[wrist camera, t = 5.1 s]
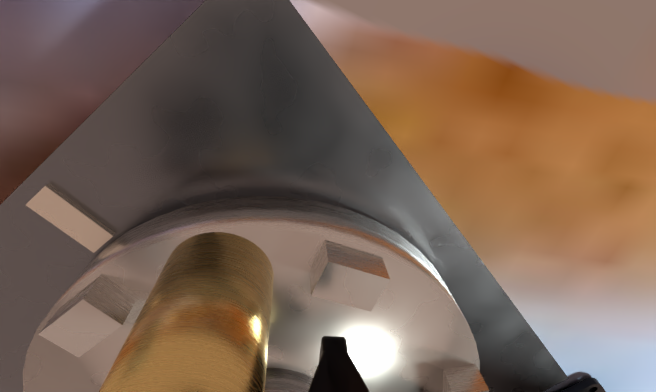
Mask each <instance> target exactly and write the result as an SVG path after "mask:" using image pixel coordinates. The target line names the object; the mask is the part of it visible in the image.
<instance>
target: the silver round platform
mask: <svg viewBox="0 0 656 392" xmlns="http://www.w3.org/2000/svg"><path fill="white" fill-rule="evenodd" d="M323 336H338V337H345V339H346V342H347V348H348V353H349V355H350V357H351V359H352V361H353V362H354V364H355V366H356V368H357V370H358V371H359V373H360V375H361V377H362V379H363V380H364V382H365V384H366V386H367V388H368V389H369V391H370V392H489V389H488V387H487V385H486V383H485V381H484V379H483V377H482V375H481V373H480V360H479V355H478V350H477V345H476V341H475V339H474V336H473V334H472V332H471V329H470V327H469V325H468V322H467V321H466V319H465V317H464V315H463V314H462V312H461V310H460V308H459V307H458V305H457V303H456V301H455V299H454V298H453V296H452V294H451V292H450V291H449V289H448V287H447V285H446V284H445V282H444V281H443V279H442V278H441V276H440V274H439V273H438V271H437V270H436V268H435V267H434V266H433V264H432V263H431V262H430V261H429V260H428V259H427V258H426V257H425V256H424V255H423V254H422V253H421V252H420V251H419V250H418V249H417V248H416V247H415V246H414V245H412V244H411V243H410V242H408V241H407V240H406V239H405V238H403V237H402V236H401V235H399V234H398V233H396V232H395V231H393V230H391V229H389V228H388V227H386V226H384V225H382V224H381V223H379V222H377V221H375V220H373V219H371V218H368V217H366V216H363V215H361V214H358V213H356V212H353V211H351V210H349V209H345V208H341V207H338V206H334V205H330V204H326V203H323V202H319V201H313V200H306V199H299V198H292V197H278V196H246V197H235V198H224V199H217V200H212V201H208V202H203V203H198V204H194V205H189V206H186V207H183V208H180V209H177V210H174V211H171V212H168V213H165V214H162V215H160V216H157V217H155V218H153V219H151V220H149V221H147V222H145V223H143V224H141V225H139V226H137V227H135V228H133V229H131V230H130V231H128V232H127V233H125V234H124V235H122V236H121V237H119V238H118V239H117V240H115V241H114V242H112V243H111V244H109V245H108V246H107V247H106V248H105V249H104V250H103V251H102V252H101V253H100V254H99V255H97V256H96V257H95V258H94V259H93V260H92V261H91V262H90V263H89V264H88V265H87V267H86V268H85V269H84V270H83V271H82V273H81V274H80V275H79V276H78V277H77V279H76V280H75V281H74V282H73V283H72V285H71V286H70V287H69V288H68V289H67V291H66V292H65V293H64V294H63V295H62V297H61V298H60V299H59V300H58V301H57V303H56V304H55V305H54V306H53V307H52V309H51V310H50V312H49V313H48V314H47V316H46V317H45V318H44V320H43V321H42V323H41V324H40V325H39V327H38V328H37V330H36V332H35V334H34V337H33V339H32V341H31V343H30V345H29V348H28V350H27V354H26V359H25V364H24V369H23V392H308V390H309V387H310V385H311V382H312V379H313V377H314V374H315V372H316V369H317V366H318V364H319V355H320V347H321V339H322V337H323Z"/></svg>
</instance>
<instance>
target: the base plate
mask: <svg viewBox="0 0 656 392" xmlns="http://www.w3.org/2000/svg"><path fill="white" fill-rule="evenodd" d="M246 196H278V197H292V198H299V199H306V200H313V201H319V202H323V203H326V204H330V205H334V206H338V207H341V208H345V209H349V210H351V211H353V212H356V213H358V214H361V215H363V216H366V217H368V218H371V219H373V220H375V221H377V222H379V223H381V224H382V225H384V226H386V227H388V228H389V229H391V230H393V231H395V232H396V233H398V234H399V235H401V236H402V237H403V238H405V239H406V240H407V241H408V242H410V243H411V244H412V245H414V246H415V247H416V248H417V249H418V250H419V251H420V252H421V253H422V254H423V255H424V256H425V257H426V258H427V259H428V260H429V261H430V262H431V263H432V264H433V266H434V267H435V268H436V270H437V271H438V273H439V274H440V276H441V278H442V279H443V281H444V282H445V284H446V285H447V287H448V289H449V291H450V292H451V294H452V296H453V298H454V299H455V301H456V303H457V305H458V307H459V308H460V310H461V312H462V314H463V315H464V317H465V319H466V321H467V322H468V325H469V327H470V329H471V332H472V334H473V336H474V339H475V341H476V345H477V350H478V355H479V360H480V373H481V375H482V377H483V379H484V381H485V383H486V385H487V387H488V389H489V392H543V391H545V390H547V389H549V388H551V387H553V386H555V385H557V384H559V383H561V382H563V381H565V380H567V379H568V377H567V376H566V374H565V373H564V372H563V370H562V369H561V368H560V366H559V365H558V364H557V362H556V361H555V360H554V358H553V357H552V355H551V354H550V353H549V351H548V350H547V349H546V347H545V346H544V345H543V343H542V342H541V341H540V339H539V338H538V337H537V335H536V334H535V332H534V331H533V330H532V328H531V327H530V326H529V324H528V323H527V322H526V320H525V319H524V318H523V316H522V315H521V313H520V312H519V311H518V309H517V308H516V307H515V305H514V304H513V303H512V301H511V300H510V299H509V297H508V296H507V295H506V293H505V292H504V290H503V289H502V288H501V286H500V285H499V284H498V282H497V281H496V280H495V278H494V277H493V276H492V274H491V273H490V272H489V270H488V269H487V267H486V266H485V265H484V263H483V262H482V261H481V259H480V258H479V257H478V255H477V254H476V253H475V251H474V250H473V249H472V247H471V246H470V244H469V243H468V242H467V240H466V239H465V238H464V236H463V235H462V234H461V232H460V231H459V230H458V228H457V227H456V225H455V224H454V223H453V221H452V220H451V219H450V217H449V216H448V215H447V213H446V212H445V211H444V209H443V208H442V207H441V205H440V204H439V202H438V201H437V200H436V198H435V197H434V196H433V194H432V193H431V192H430V190H429V189H428V188H427V186H426V185H425V184H424V182H423V181H422V179H421V178H420V177H419V175H418V174H417V173H416V171H415V170H414V169H413V167H412V166H411V165H410V163H409V162H408V161H407V159H406V158H405V156H404V155H403V154H402V152H401V151H400V150H399V148H398V147H397V146H396V144H395V143H394V142H393V140H392V139H391V137H390V136H389V135H388V133H387V132H386V131H385V129H384V128H383V127H382V125H381V124H380V123H379V121H378V120H377V119H376V117H375V116H374V114H373V113H372V112H371V110H370V109H369V108H368V106H367V105H366V104H365V102H364V101H363V100H362V98H361V97H360V96H359V94H358V93H357V91H356V90H355V89H354V87H353V86H352V85H351V83H350V82H349V81H348V79H347V78H346V77H345V75H344V74H343V73H342V71H341V70H340V68H339V67H338V66H337V64H336V63H335V62H334V60H333V59H332V58H331V56H330V55H329V54H328V52H327V51H326V49H325V48H324V47H323V45H322V44H321V43H320V41H319V40H318V39H317V37H316V36H315V35H314V33H313V32H312V31H311V29H310V28H309V26H308V25H307V24H306V22H305V21H304V20H303V18H302V17H301V16H300V14H299V13H298V12H297V10H296V9H295V8H294V6H293V5H292V3H291V2H290V1H289V0H206V1H205V2H204V3H203V4H202V5H201V6H200V7H199V8H198V9H197V10H196V11H195V12H194V13H193V14H192V15H191V16H190V17H189V18H188V19H187V20H186V21H185V22H184V23H183V24H182V25H181V26H180V27H178V28H177V29H176V30H175V31H174V32H173V33H172V34H171V35H170V36H169V37H168V38H167V39H166V40H165V41H164V42H163V43H162V44H161V45H160V46H159V47H158V48H157V49H156V50H155V51H154V52H153V53H152V54H151V55H150V56H149V57H148V58H147V59H146V60H145V61H144V62H143V63H142V64H141V65H140V66H139V67H138V68H137V69H136V70H135V71H134V72H133V73H132V74H131V75H130V76H129V77H128V78H127V79H126V80H125V81H124V82H123V83H122V84H121V85H120V86H119V87H118V88H117V89H116V90H115V91H114V92H113V93H112V94H111V95H110V96H109V97H108V98H107V99H106V100H105V101H104V102H103V103H102V104H101V105H100V106H99V107H98V108H97V109H96V110H95V111H94V112H93V113H92V114H91V115H90V116H89V117H88V118H87V119H86V120H85V121H84V122H83V123H82V124H81V125H80V126H79V127H78V128H77V129H76V130H75V131H74V132H73V133H72V134H71V135H70V136H69V137H68V138H67V139H66V140H65V141H64V142H63V143H62V144H61V145H60V146H59V147H58V148H57V149H56V150H55V151H54V152H53V153H52V154H51V155H50V156H49V157H48V158H47V159H46V160H45V161H44V162H43V163H42V164H41V165H40V166H39V167H38V168H37V169H36V170H35V171H34V172H33V173H32V174H31V175H30V176H29V177H28V178H27V179H26V180H25V181H24V182H23V183H22V184H21V185H20V186H19V187H18V188H17V189H16V190H15V191H14V192H13V193H12V194H11V195H10V196H9V197H8V198H7V199H6V200H5V201H4V202H3V203H2V204H1V205H0V392H23V369H24V364H25V359H26V354H27V350H28V348H29V345H30V343H31V341H32V339H33V337H34V334H35V332H36V330H37V328H38V327H39V325H40V324H41V323H42V321H43V320H44V318H45V317H46V316H47V314H48V313H49V312H50V310H51V309H52V307H53V306H54V305H55V304H56V303H57V301H58V300H59V299H60V298H61V297H62V295H63V294H64V293H65V292H66V291H67V289H68V288H69V287H70V286H71V285H72V283H73V282H74V281H75V280H76V279H77V277H78V276H79V275H80V274H81V273H82V271H83V270H84V269H85V268H86V267H87V265H88V264H89V263H90V262H91V261H92V260H93V259H94V258H95V257H96V256H97V255H99V254H100V253H101V252H102V251H103V250H104V249H105V248H106V247H107V246H108V245H109V244H111V243H112V242H114V241H115V240H117V239H118V238H119V237H121V236H122V235H124V234H125V233H127V232H128V231H130V230H131V229H133V228H135V227H137V226H139V225H141V224H143V223H145V222H147V221H149V220H151V219H153V218H155V217H157V216H160V215H162V214H165V213H168V212H171V211H174V210H177V209H180V208H183V207H186V206H189V205H194V204H198V203H203V202H208V201H212V200H217V199H224V198H235V197H246Z"/></svg>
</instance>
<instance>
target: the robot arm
mask: <svg viewBox="0 0 656 392" xmlns="http://www.w3.org/2000/svg"><path fill="white" fill-rule="evenodd" d="M308 392H370V391H369V389H368V388H367V386H366V384H365V382H364V380H363V379H362V377H361V375H360V373H359V371H358V370H357V368H356V366H355V364H354V362H353V361H352V359H351V357H350V355H349V353H348V348H347V342H346V339H345V337H338V336H323V337H322V339H321V347H320V355H319V364H318V366H317V369H316V372H315V374H314V377H313V379H312V382H311V385H310V387H309V390H308ZM561 392H605V390H604V389H603V387H602V386H601V385H600V383H599V382H598V381H597V380H596V379H595V378H588V379H585V380H583V381H581V382H579V383H577V384H575V385H573V386H571V387H569V388H567V389H565V390H563V391H561Z"/></svg>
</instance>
